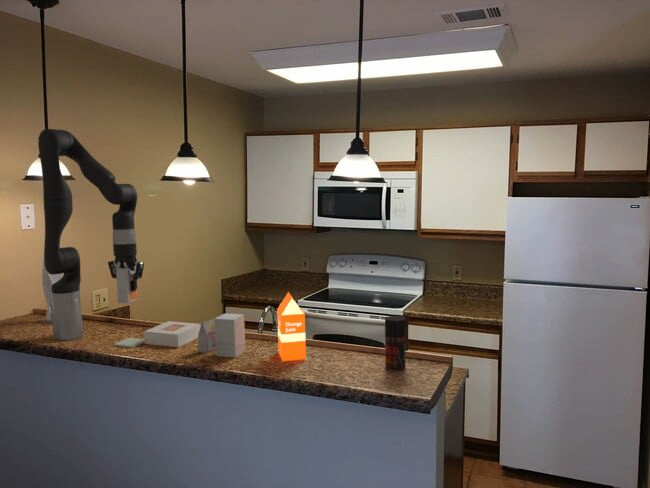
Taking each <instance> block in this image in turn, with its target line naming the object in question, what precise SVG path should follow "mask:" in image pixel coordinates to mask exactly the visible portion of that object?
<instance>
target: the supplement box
mask: <svg viewBox="0 0 650 488" xmlns="http://www.w3.org/2000/svg"><path fill="white" fill-rule="evenodd" d="M213 319H214V326H215V345H216V350H215V356H216V357H223V358H230V359H231V358H233V359H236V358H238V357H239V356H241V355H243V354H244V353H246V351H247V350H246V337H245V336H246V335H245V333H246V332H245V315H244V314H240V313H227V312H226V313H222V314H221V315H218V316H217V317H215V318H213Z"/></svg>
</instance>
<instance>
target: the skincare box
mask: <svg viewBox="0 0 650 488" xmlns="http://www.w3.org/2000/svg"><path fill="white" fill-rule="evenodd" d="M135 268H136V267H135ZM130 271H131V272H132V271H133V270H130ZM116 276H117V280H116V294H117V303H118V304H129V303H132V302H134V301H137V300H138V288H137V289H136V291H133V292H132V291H131V288H130V281H131V280H130V275H129V272H128V269H127V268H118V269H116Z"/></svg>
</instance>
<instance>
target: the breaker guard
mask: <svg viewBox="0 0 650 488" xmlns="http://www.w3.org/2000/svg"><path fill="white" fill-rule="evenodd" d="M172 325H176V326H184V327H182V328H179V329H177V330H175V331H165V330H163V329H165V328H168V327H170V326H172ZM200 327H201V323H192V322H182V321H181V322H179V321H170V320H168V321H166V322H163V323H161V324H159V325H156V326H153V327H151V328H148V329H146V330H145V331H143V339H144V340H145V343H144V345H150V346H151V345H153V346H162V347H163V346H164V347H171V348H173V347H174V348H180V347H183V346H184V345H186V344H187V343H190V342H192V341H194V340H196V339H198V333H199V330H200Z"/></svg>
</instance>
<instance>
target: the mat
mask: <svg viewBox="0 0 650 488" xmlns="http://www.w3.org/2000/svg"><path fill="white" fill-rule="evenodd" d="M142 344H145V340H144V338H136V337H128V338H126V339H123V340H121V341H117V342H116V343H113V346H114V347H122V348H136V347H137V346H140V345H142Z"/></svg>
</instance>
